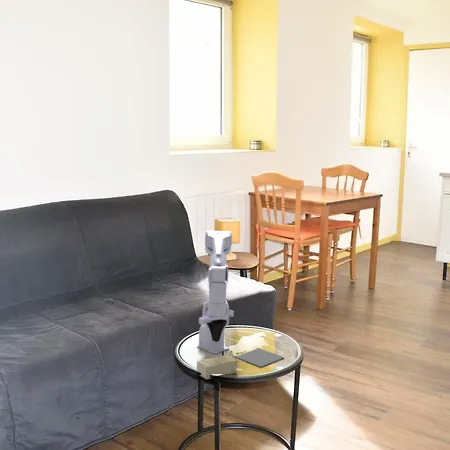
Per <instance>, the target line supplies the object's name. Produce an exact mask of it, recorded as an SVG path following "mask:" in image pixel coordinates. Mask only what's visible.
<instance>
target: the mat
mask: <svg viewBox="0 0 450 450" xmlns="http://www.w3.org/2000/svg"><path fill="white" fill-rule="evenodd" d="M282 358H284V359H285V356H282V355H279V354H276V353H274V352H271V351H268V350H265V349H263V348H260V347H257V348H255V349H253V350H250V351H247V352H244V353H242V354H239V355H236V356H235V358H234V359H236V360H237V359H238V360H240V361H243V362H245V363H248V364H251V365H253V366H255V367H258V368H260V369H261V368H263V367H267V366H269V365H271V364H273V363H277V362H279V361H281V360H283V359H282ZM280 359H281V360H280ZM278 360H279V361H278Z"/></svg>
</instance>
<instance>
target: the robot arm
mask: <svg viewBox="0 0 450 450" xmlns="http://www.w3.org/2000/svg"><path fill="white" fill-rule="evenodd" d="M204 233H205V234H204V246H205V248H204V250H205V253H206V254H208V255H210V257H209V268H208V271H207V273H208V277H207V281H208V300H207V301H205V302H204V303H203V305H202V306H203V307H202V316H201V317H199V318H198V324H199V325H200V327H199V331H198V345H196V347H197V348H199V349H202V350H204V351H207V352H209V353H211V354H213V355H215V354H218V353H222V352H224V351H227V350H229V349H230V347H229V346H226V345H225V340H226V339H225V336H226V326H228V325H229V323H230V318H232V317H234V312H235V311H234V310H232V309H230V306H229V303H228V302H227V284H228V282H229V266H228V264H227V263H228V261H227V260H228V258H227V255H229V254H230V252H231V251H232V250H231V249H232V243H233V233H232V231H231V230H229V231H228V230H225V231H224V230H208V229H207V230H206V231H205V232H204Z"/></svg>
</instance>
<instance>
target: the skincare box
mask: <svg viewBox="0 0 450 450" xmlns="http://www.w3.org/2000/svg"><path fill="white" fill-rule="evenodd" d="M237 364H238V360H237V359H236V358H233V357H232V356H231V355H228V354H225V355H224V354H223V355H220V356H219V355H218V356H214V357H211V358H210V357H209V358H205V359H201V360H197V361H196V372H197V371H199V372H200V373H201V375H199V376H200V377H201V378H203V379H205V380H210V379H211V378H210V375H212V374H223V376H226V375H225V374H227V375H230V374H236V373H237V366H238V365H237Z"/></svg>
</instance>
